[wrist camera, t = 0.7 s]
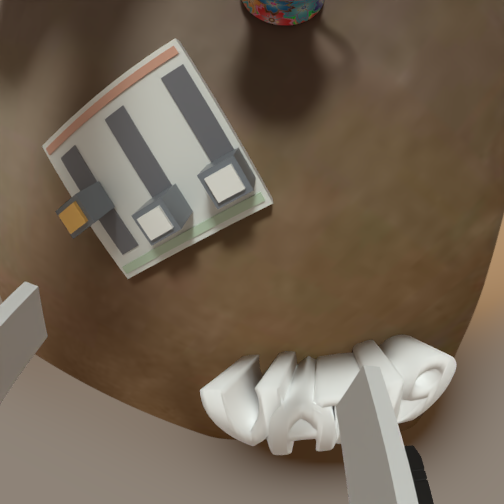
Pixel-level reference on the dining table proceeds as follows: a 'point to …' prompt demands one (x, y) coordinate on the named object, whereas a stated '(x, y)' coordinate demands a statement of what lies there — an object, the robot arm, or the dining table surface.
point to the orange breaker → (85, 209)
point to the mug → (283, 10)
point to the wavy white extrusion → (321, 391)
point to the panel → (158, 161)
